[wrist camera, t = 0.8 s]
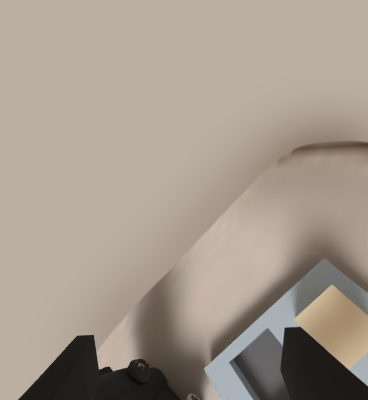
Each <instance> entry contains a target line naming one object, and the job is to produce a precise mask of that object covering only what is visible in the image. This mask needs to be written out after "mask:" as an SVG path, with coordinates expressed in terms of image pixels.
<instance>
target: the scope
mask: <svg viewBox="0 0 368 400" xmlns="http://www.w3.org/2000/svg"><path fill="white" fill-rule="evenodd" d="M99 374H100V380H99V384H98V388H97V392H96V396H95V400H181V399H178V398H179V397H178V396H177V395H176V394H175V393H174V392H173V391H172V390H171V389H170V388H169V387H168V384H167V380H166V378H165V376H164V375H163V373H162V372H161V371H160V370H159V369H156V368H149V365H148V363H147V364H146V361H145V360H143V359H137V360H132V361H131V362H130V365H129V366H128V368H124V369H120V370H116V371H113V370H112V369H111V368H110V367H105V368H103V369H100V370H99ZM186 400H200V399H199V398H198V397H197V396H196V395H194V394H191V393H190V394H189V395H188V396H187V399H186Z"/></svg>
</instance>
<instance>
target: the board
mask: <svg viewBox="0 0 368 400" xmlns="http://www.w3.org/2000/svg"><path fill="white" fill-rule="evenodd" d="M331 285H333V286H335V287H336V288H337V289H338V290H339V291H340V292H341V293H343V294H344V295H345V296H346V297H347V298H348V299H349V300H351V301H352V302H353V303H354V304H355V305H356V306H358V307H359V308H360V309H361V310H362V311H363V312H364V313H366V314H367V315H368V293H367V292H366V291H365V290H363V289H362V288H361V287H360V286H358V285H357V284H356V283H355V282H353V281H352V280H351V279H350V278H349V277H347V276H346V275H345V274H344V273H342V272H341V271H340V270H339V269H338V268H336V267H335V266H334V265H333V264H331V263H330V262H329V261H328V260H326V259H325V258H323V259H322V260H321V261H320V262H319V263H318V264H317V265H316V266H315V267H314V268H312V269H311V270H310V271H309V272H308V273H307V274H306V275H305V276H304V277H303V278H302V279H301V280H299V281H298V282H297V283H296V284H295V285H294V286H293V287H292V288H291V289H290V290H289V291H288V292H286V293H285V294H284V295H283V296H282V297H281V298H280V299H279V300H278V301H277V302H276V303H275V304H273V305H272V306H271V307H270V308H269V309H268V310H267V311H266V312H265V313H264V314H263V315H262V316H260V317H259V318H258V319H257V320H256V321H255V322H254V323H253V324H252V325H251V326H250V327H249V328H248V329H246V330H245V331H244V332H243V333H242V334H241V335H240V336H239V337H238V338H237V339H236V340H235V341H233V342H232V343H231V344H230V345H229V346H228V347H227V348H226V349H225V350H224V351H223V352H222V353H220V354H219V355H218V356H217V357H216V358H215V359H214V360H213V361H212V362H211V363H210V364H209V365H207V366H206V367H205V368H204V370H205V372H206V374H207V376H208V377H209V379H210V381H211V383H212V384H213V386H214V388H215V390H216V391H217V393H218V395H219V397H220V398H221V400H291V399H290V396H289V394H288V391H287V388H286V385H285V382H284V379H283V377H282V374H281V371H280V367H281V358H282V348H283V339H284V329H285V327H300V326H299V325H298V324H297V323H296V322H295V320H294V319H295V318H296V317H297V316H298V315H299V314H300V313H301V312H302V311H303V310H304V309H306V308H307V307H308V306H309V305H310V304H311V303H312V302H313V301H314V300H315V299H316V298H318V297H319V296H320V295H321V294H322V293H323V292H324V291H325V290H326V289H327V288H328V287H330V286H331ZM349 370H350V371H351V372H352V373H353V374H354V375H355V376H357V377H358V378H359V379H360V380H361V381H362V382H364V383H365V384H366V385H367V386H368V352H367V353H366V354H365V355H364V356H363V357H362V358H361V359H360V360H359V361H357V362H356V363H355V364H354V365H353V366H352V367H351V368H350V369H349Z"/></svg>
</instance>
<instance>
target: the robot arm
mask: <svg viewBox="0 0 368 400" xmlns="http://www.w3.org/2000/svg"><path fill="white" fill-rule="evenodd" d="M280 371H281V374H282V377H283V379H284V382H285V385H286V388H287V391H288V394H289V396H290V399H291V400H368V386H367V385H366V384H365V383H364V382H362V381H361V380H360V379H359V378H358V377H357V376H355V375H354V374H353V373H352V372H351V371H350V370H349V369H347V368H346V367H345V366H344V365H343V364H342V363H341V362H339V361H338V360H337V359H336V358H335V357H334V356H333V355H332V354H330V353H329V352H328V351H327V350H326V349H325V348H324V347H323V346H322V345H320V344H319V343H318V342H317V341H316V340H315V339H314V338H313V337H312V336H310V335H309V334H308V333H307V332H306V331H305V330H304V329H303V328H301V327H285V329H284V339H283V348H282V358H281V367H280ZM99 380H100V374H99V368H98V361H97V354H96V347H95V341H94V335H84V336H77V337H76V338H75V339H74V340H73V341H72V342H71V343H70V344H69V345H68V346H67V347H66V348H65V350H64V351H63V352H62V353H61V354H60V355H59V356H58V357H57V358H56V360H55V361H54V362H53V363H52V364H51V365H50V366H49V367H48V368H47V370H46V371H45V372H44V373H43V374H42V375H41V376H40V377H39V379H37V381H35V382H34V384H33V385H32V386H31V387H30V388H29V389H28V390H27V391H26V392H25V393H24V394H23V395H22V396H21V397H20V398H19V400H95V396H96V392H97V388H98V384H99Z"/></svg>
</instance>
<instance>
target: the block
mask: <svg viewBox="0 0 368 400" xmlns="http://www.w3.org/2000/svg"><path fill="white" fill-rule="evenodd" d="M294 320H295V322H296V323H297V324H298V325H299V326H300V327H301V328H303V329H304V330H305V331H306V332H307V333H308V334H309V335H310V336H312V337H313V338H314V339H315V340H316V341H317V342H318V343H319V344H320V345H322V346H323V347H324V348H325V349H326V350H327V351H328V352H329V353H330V354H332V355H333V356H334V357H335V358H336V359H337V360H338V361H339V362H341V363H342V364H343V365H344V366H345V367H346V368H347V369H350V368H351V367H352V366H353V365H354V364H355V363H356V362H357V361H359V360H360V359H361V358H362V357H363V356H364V355H365V354H366V353H367V352H368V315H367V314H366V313H364V312H363V311H362V310H361V309H360V308H359V307H358V306H356V305H355V304H354V303H353V302H352V301H351V300H349V299H348V298H347V297H346V296H345V295H344V294H343V293H341V292H340V291H339V290H338V289H337V288H336V287H335V286H333V285H331V286H330V287H328V288H327V289H326V290H325V291H324V292H323V293H322V294H321V295H320V296H319V297H318V298H316V299H315V300H314V301H313V302H312V303H311V304H310V305H309V306H308V307H307V308H306V309H304V310H303V311H302V312H301V313H300V314H299V315H298V316H297V317H296V318H295V319H294Z"/></svg>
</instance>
